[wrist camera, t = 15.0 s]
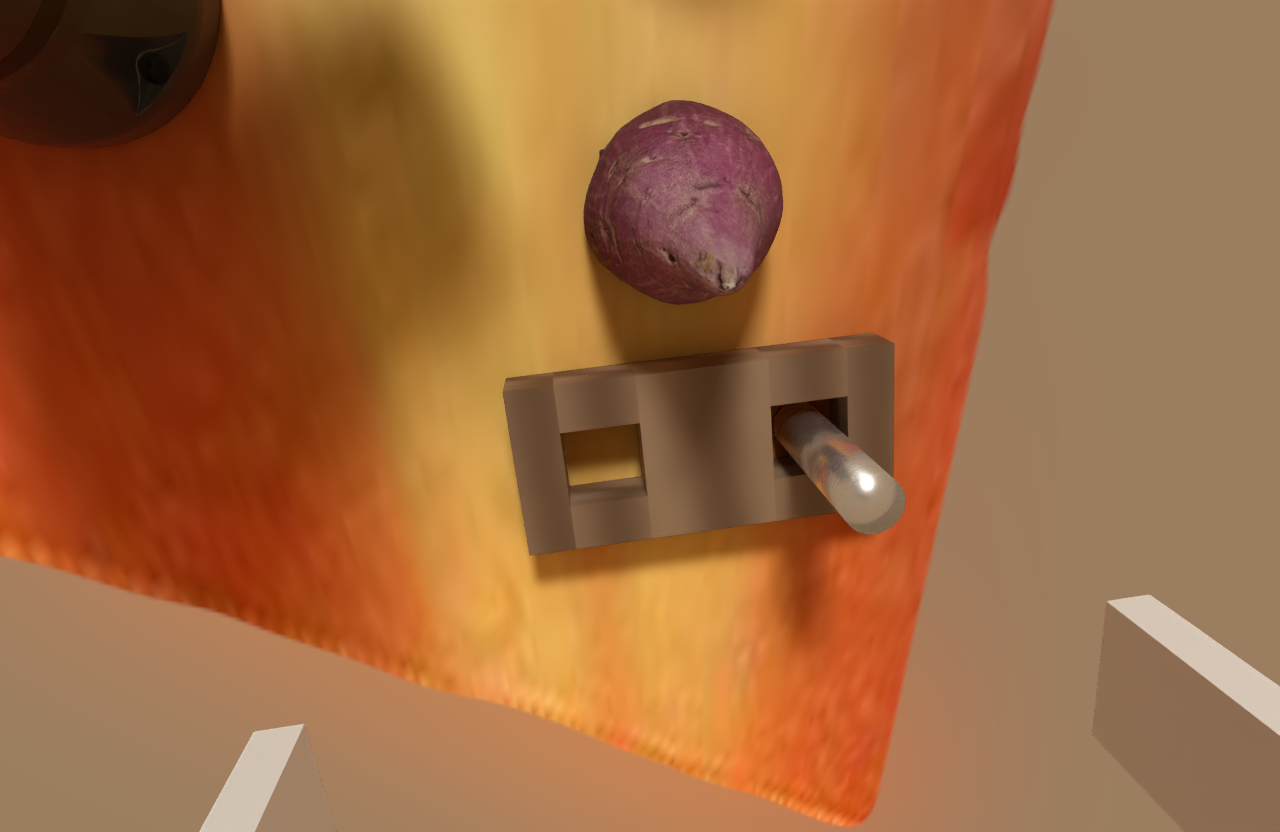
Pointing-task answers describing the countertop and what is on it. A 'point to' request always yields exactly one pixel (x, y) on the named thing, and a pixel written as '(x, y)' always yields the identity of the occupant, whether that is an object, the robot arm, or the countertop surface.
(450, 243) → the countertop surface
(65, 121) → the robot arm
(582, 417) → the board
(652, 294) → the vegetable
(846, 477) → the pin
